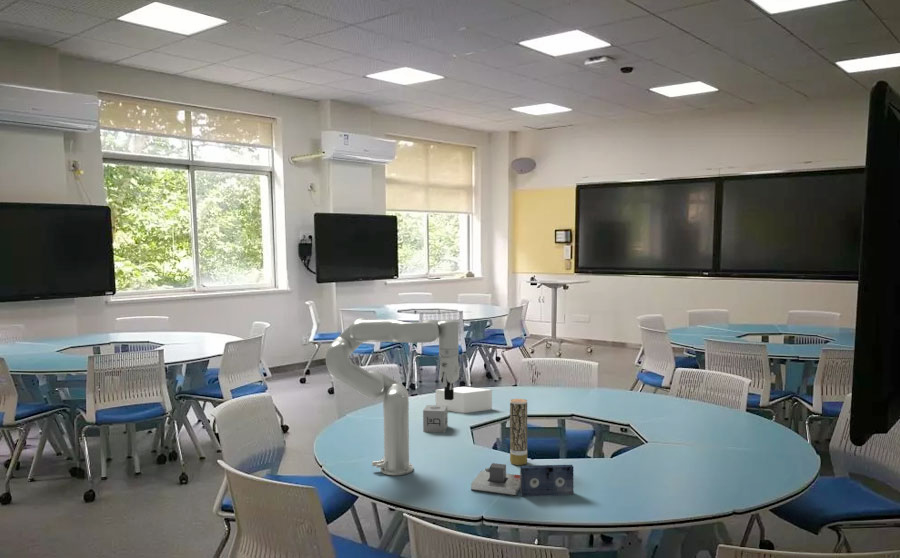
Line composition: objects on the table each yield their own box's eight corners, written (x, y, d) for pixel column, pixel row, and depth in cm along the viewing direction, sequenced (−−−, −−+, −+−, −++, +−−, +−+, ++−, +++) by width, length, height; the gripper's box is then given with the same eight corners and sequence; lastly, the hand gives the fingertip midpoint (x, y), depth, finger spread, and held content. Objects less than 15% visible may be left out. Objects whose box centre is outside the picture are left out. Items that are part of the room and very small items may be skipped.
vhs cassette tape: (572, 492, 208) (572, 464, 208) (574, 495, 205) (574, 467, 205) (519, 493, 208) (519, 465, 207) (521, 496, 205) (521, 468, 204)
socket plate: (471, 490, 210) (471, 481, 210) (481, 477, 222) (481, 468, 222) (515, 496, 205) (515, 487, 204) (523, 482, 217) (523, 474, 217)
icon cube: (423, 431, 279) (423, 410, 278) (427, 425, 289) (427, 404, 288) (444, 432, 277) (444, 411, 277) (447, 426, 287) (447, 405, 287)
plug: (484, 485, 213) (484, 466, 213) (487, 481, 217) (487, 462, 217) (503, 487, 211) (503, 468, 210) (506, 483, 215) (506, 464, 214)
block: (436, 405, 325) (436, 386, 325) (491, 405, 324) (491, 386, 324) (434, 413, 310) (434, 393, 310) (492, 413, 309) (492, 393, 309)
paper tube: (518, 467, 232) (518, 403, 231) (506, 462, 238) (506, 400, 236) (530, 463, 236) (530, 401, 235) (519, 458, 242) (519, 397, 240)
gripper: (451, 356, 221) (451, 405, 222) (464, 349, 235) (464, 395, 236) (432, 355, 224) (432, 403, 224) (446, 348, 238) (446, 394, 238)
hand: (449, 399), depth 230 cm, fingers closed
